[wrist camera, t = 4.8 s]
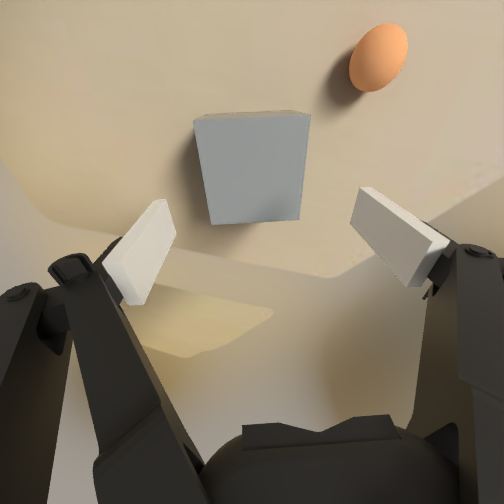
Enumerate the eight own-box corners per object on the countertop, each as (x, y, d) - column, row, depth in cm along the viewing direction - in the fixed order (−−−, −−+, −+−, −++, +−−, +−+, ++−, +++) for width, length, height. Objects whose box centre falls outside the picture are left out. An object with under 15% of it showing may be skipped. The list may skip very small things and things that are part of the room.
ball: (337, 93, 24) (356, 92, 20) (347, 32, 21) (372, 17, 17) (379, 91, 24) (407, 90, 20) (395, 30, 21) (431, 14, 17)
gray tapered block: (217, 196, 31) (211, 225, 24) (206, 114, 25) (192, 120, 18) (285, 192, 31) (299, 219, 24) (290, 110, 25) (310, 114, 18)
